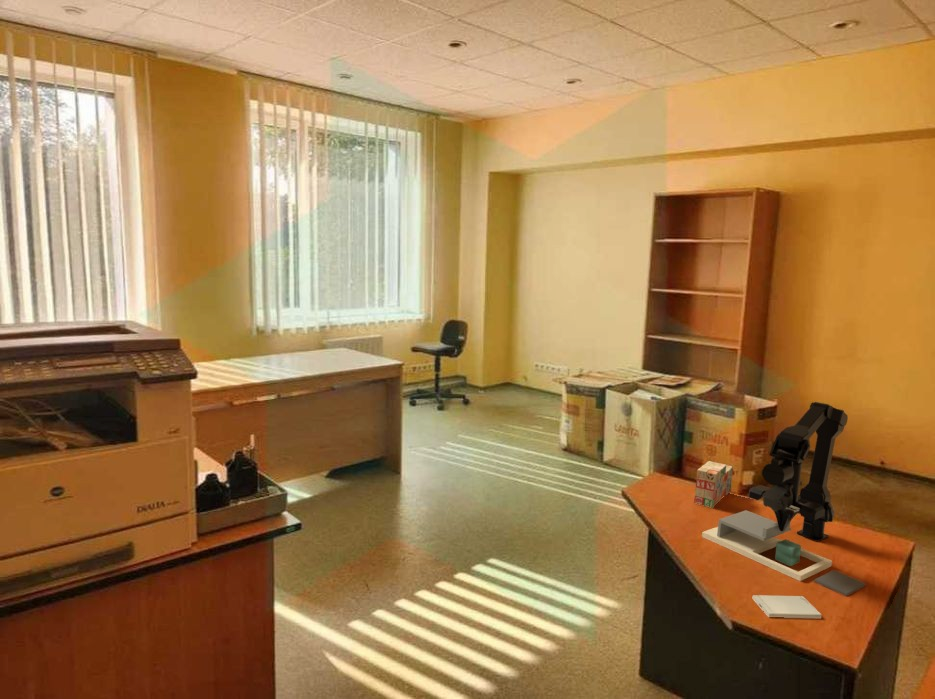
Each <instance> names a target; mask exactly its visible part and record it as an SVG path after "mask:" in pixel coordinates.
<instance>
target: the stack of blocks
mask: <svg viewBox="0 0 935 699" xmlns="http://www.w3.org/2000/svg"><path fill="white" fill-rule="evenodd" d="M733 468H734V466H731V465H728V464H726V463H725V464H724V463H720V462H715V461H712V460H711V461H710V460H708V461H706V463H704V464H702V466H700V467H699V468H698V469H697V471H696V480H695V492H694V501H693V504H694V503H697V504H700V505H699V506H701V505H704V506H703V507H705V506H709V507H711V508H710V509H714V508H715V507H716V506H717V505H718V504H719V503H720V502H721V501H722V500H721V498H722V497H723V496H725V495H726V496H727V495H728V494H729V493H730V492H731V490H732V481H733ZM726 496H725V497H726ZM720 500H721V501H720ZM719 501H720V502H719ZM718 502H719V503H718ZM717 503H718V504H717ZM697 504H696V505H697ZM716 504H717V505H716ZM715 505H716V506H715ZM714 506H715V507H714ZM709 507H708V508H709Z"/></svg>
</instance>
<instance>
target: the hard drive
mask: <svg viewBox="0 0 935 699" xmlns="http://www.w3.org/2000/svg"><path fill="white" fill-rule="evenodd" d="M751 598H752V600H753V601H754V602H755V604H756V605H757V606H758V607H759V608H760V609H761V611H762V612H763V611H764V612H763V613H764V614H765V615H766V616H767V617H768V618H769V617H784V618H783V619H816V620H817V619H820V620H821V619H822V613H821V612H819V611H818V610H817V608H816V607H815V606H814V605H813V604H812V603H810V602H809V600H808V599H807V598H805V597H804V596H802V595H801V596H800V595H766V594H765V595H760V594H758V595H755V594H754V595H752V597H751Z"/></svg>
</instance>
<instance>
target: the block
mask: <svg viewBox="0 0 935 699" xmlns="http://www.w3.org/2000/svg"><path fill="white" fill-rule="evenodd" d="M781 540H782V539H781ZM801 548H802V545H801V544H798V543H796V542H794V541H791V540H788V539H783V540H782V541H780V542H777V546H776V547H775V556H774V561H775V560H776V561H778V563H779V562H780V563H781V564H785V566H786V565H787V566H789V567H792V566H795V565H796V564H799V563H800V560H801V558H800V557H801V556H800V551H801Z"/></svg>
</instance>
